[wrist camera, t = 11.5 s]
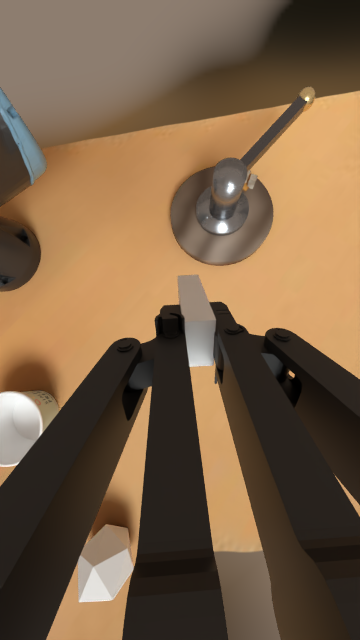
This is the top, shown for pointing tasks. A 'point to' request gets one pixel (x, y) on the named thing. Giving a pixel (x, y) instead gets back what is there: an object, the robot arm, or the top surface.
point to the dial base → (212, 246)
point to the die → (104, 564)
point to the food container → (23, 422)
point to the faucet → (242, 176)
